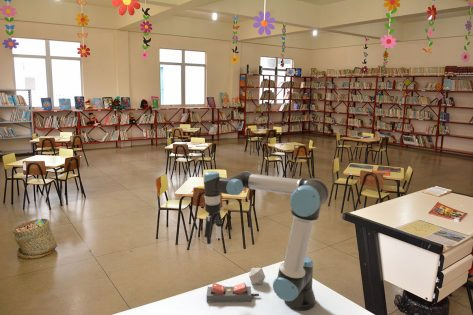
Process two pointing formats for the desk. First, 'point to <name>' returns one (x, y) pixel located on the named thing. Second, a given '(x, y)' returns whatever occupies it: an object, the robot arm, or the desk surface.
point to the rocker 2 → (240, 288)
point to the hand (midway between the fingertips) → (214, 243)
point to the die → (256, 276)
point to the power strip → (230, 295)
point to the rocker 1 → (217, 288)
